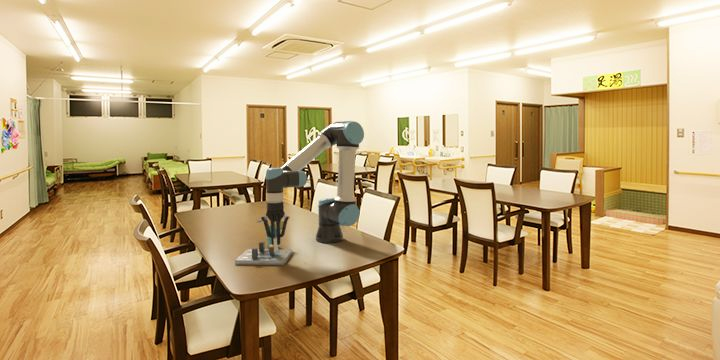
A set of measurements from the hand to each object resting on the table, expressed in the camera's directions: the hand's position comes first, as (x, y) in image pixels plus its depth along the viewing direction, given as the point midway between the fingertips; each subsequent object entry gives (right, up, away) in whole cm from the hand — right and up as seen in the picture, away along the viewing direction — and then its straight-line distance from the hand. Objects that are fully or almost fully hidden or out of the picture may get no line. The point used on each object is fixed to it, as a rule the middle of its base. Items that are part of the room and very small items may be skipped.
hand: (276, 251), depth 186 cm
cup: (-7, -2, +20) cm, 21 cm away
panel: (-5, -3, +1) cm, 6 cm away
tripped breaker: (-2, -1, 0) cm, 2 cm away
